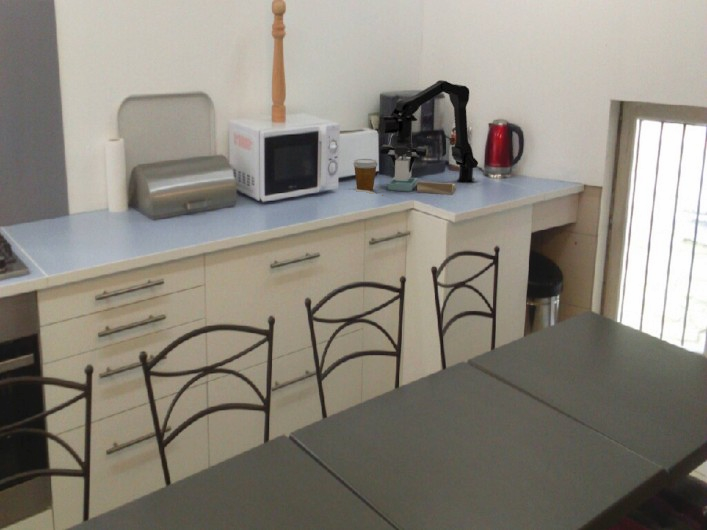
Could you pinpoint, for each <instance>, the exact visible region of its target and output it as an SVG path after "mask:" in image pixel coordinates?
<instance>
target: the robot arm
mask: <svg viewBox="0 0 707 530" xmlns="http://www.w3.org/2000/svg"><path fill="white" fill-rule="evenodd" d="M442 93H445V94H447V95H448V96H449V101H450V103H451V105H452V107H453V113H454V129H455V130H454V131H455V144H454V146H453V145H452V146H451V156H452V158H453V160H454V161H455V165H458V166H459V171H458V178H457V180H456V181H457V182H463V183H464V182H466V183H473V182H474V180H475V178H474V168H477V167H478V165H479V162H478V160H477V159H476V158H475V157H474V153H473V152H474V151H473V148H472V146H471V144H470V142H469V136H468V133H469V132H468V121H467V116H468V115H467V106H468V104H469V100H470V89H469V88H468V87H467V86H466V85H461V84H457V83H456V84H455V83H454V84H453V83H451V82H448V81H447V80H443V79H441V80H437V81H436V82H435V83H433V84H432V85H429V86H428V87H426V88H425V89H423V90H422V91H419V92H418V93H416V94H415V95H412V96H409V97H405V98H402V99H400V100H398V101H396V105H395V107H394V109H393V110H392V112H391V113H390V115H389V116H387V115H386V116H385V115H384V116H383V115H382V116H381V119H380V121H379V124H378V130H379V131H378V132H379V133H380V134H381V135H391V134H397V135H396V140H395V144H394V147H393V145H392V144H383V145H382V146H380V147H379V154H380V155H381V154H382V155H387V157H389V158H391V160H392V162H393V165H394V167H395V160H396V159H398V158H399V155H402V156H403V155H405V154H406V155H407V153H408V154H409V153H410V154H411V155H410V156H409V157H411V160H410V167H409V172H411V173H412V171H411V170H412V169H413V166H414V163H415V162H416V160H417V158H419V157H427V155H429V148H428V146H422V145H421V146H420V145H419V146H417V147H415V148H414V146H413V141H412V138H413V137H412V136H413V135H412V134H413V133H412V132H413V122H416V121H418V118H417V117H416V116H415V115H414V114H415V113H416V112H417V111H419V109H420V107H422V105H424V104H426V103H427V102H429V101H431V100H432V99H434V98H435V97H437V96H440V94H442Z"/></svg>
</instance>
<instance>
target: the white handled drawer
mask: <svg viewBox="0 0 707 530" xmlns="http://www.w3.org/2000/svg"><path fill="white" fill-rule="evenodd" d="M410 160H411V157H410V156H407V154H405V155H403V154H402V155H401V156H398V159H396V160H395V166H394V177H395V180H397V181H408V180H409V179H410V178H412V170H411V172H409V167H410Z"/></svg>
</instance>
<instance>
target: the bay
mask: <svg viewBox="0 0 707 530" xmlns="http://www.w3.org/2000/svg"><path fill="white" fill-rule="evenodd" d="M416 187H417V188H416V191H417V192H416V193H425V194H437V195H439V194H440V195H452V194H453V193H454V191H455V190H456V183H450V182H434V181H433V182H432V181H418V182H417V185H416Z"/></svg>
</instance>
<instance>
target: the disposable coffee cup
mask: <svg viewBox="0 0 707 530" xmlns="http://www.w3.org/2000/svg"><path fill="white" fill-rule="evenodd" d="M352 165H353V167H354V173H355V174H354V176H355V184H356V190H357V191H367V192H370V193H373V192H374V185H375V178H376V173H377V167H378V165H379V164H378V163H377V160H376V159H373V158H358V159H355V160H354V162H353V164H352Z"/></svg>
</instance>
